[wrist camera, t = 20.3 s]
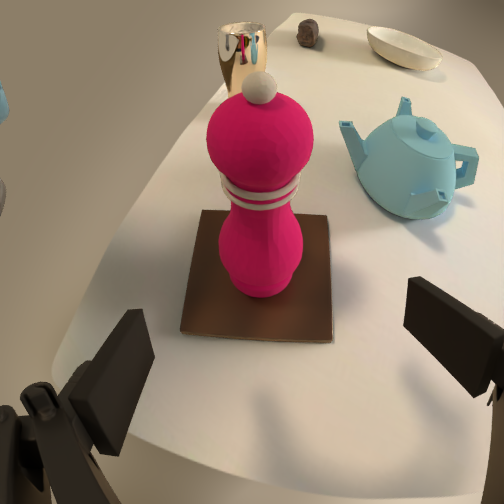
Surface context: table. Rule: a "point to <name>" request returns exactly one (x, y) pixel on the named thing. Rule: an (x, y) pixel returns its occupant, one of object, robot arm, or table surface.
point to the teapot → (410, 164)
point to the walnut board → (260, 309)
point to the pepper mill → (260, 183)
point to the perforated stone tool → (307, 32)
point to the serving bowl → (403, 49)
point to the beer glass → (241, 52)
